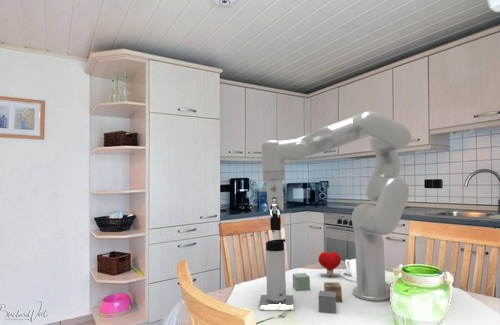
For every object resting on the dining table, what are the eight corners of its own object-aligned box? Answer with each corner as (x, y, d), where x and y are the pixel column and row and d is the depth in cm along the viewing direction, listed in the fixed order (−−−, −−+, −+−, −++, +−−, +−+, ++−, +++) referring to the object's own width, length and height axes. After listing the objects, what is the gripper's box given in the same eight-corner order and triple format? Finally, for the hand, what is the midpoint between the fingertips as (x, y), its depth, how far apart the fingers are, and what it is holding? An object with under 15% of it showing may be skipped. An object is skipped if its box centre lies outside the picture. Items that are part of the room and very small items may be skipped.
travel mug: (286, 304, 102) (284, 241, 103) (265, 303, 103) (264, 241, 104) (288, 297, 108) (286, 237, 109) (268, 296, 109) (267, 237, 110)
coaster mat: (292, 298, 110) (292, 295, 110) (294, 310, 99) (294, 307, 99) (261, 297, 111) (261, 294, 111) (258, 310, 100) (258, 307, 100)
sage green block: (305, 286, 123) (305, 272, 123) (309, 290, 118) (309, 276, 118) (292, 287, 122) (292, 273, 123) (297, 291, 117) (296, 277, 118)
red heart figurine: (320, 278, 132) (319, 254, 132) (317, 274, 138) (316, 250, 139) (343, 278, 131) (342, 253, 132) (339, 273, 138) (338, 250, 139)
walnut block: (339, 297, 111) (338, 282, 111) (341, 302, 106) (341, 287, 106) (324, 297, 111) (324, 282, 111) (326, 302, 106) (326, 286, 106)
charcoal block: (336, 307, 101) (335, 291, 102) (335, 314, 97) (335, 297, 97) (320, 306, 103) (319, 290, 103) (319, 312, 98) (318, 295, 98)
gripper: (285, 176, 99) (287, 231, 98) (284, 176, 116) (286, 224, 115) (261, 177, 100) (263, 232, 99) (264, 177, 117) (266, 224, 116)
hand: (276, 228), depth 107 cm, fingers open, 9 cm apart
